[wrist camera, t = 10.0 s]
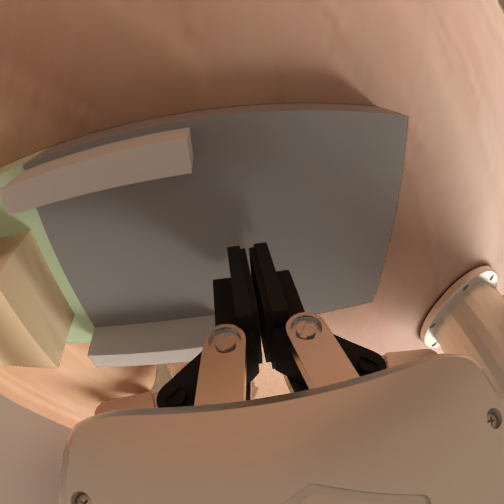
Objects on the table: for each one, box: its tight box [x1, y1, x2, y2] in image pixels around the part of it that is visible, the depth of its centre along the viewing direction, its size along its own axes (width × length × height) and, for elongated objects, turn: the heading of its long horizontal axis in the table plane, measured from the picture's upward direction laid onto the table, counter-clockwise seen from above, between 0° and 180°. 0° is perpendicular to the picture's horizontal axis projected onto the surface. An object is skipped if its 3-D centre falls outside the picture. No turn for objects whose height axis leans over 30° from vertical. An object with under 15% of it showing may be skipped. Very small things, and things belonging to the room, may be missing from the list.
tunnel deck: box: [0, 103, 409, 367], centre depth 13 cm, size 31×12×5 cm, turn 93°
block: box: [0, 229, 75, 368], centre depth 11 cm, size 6×6×4 cm
